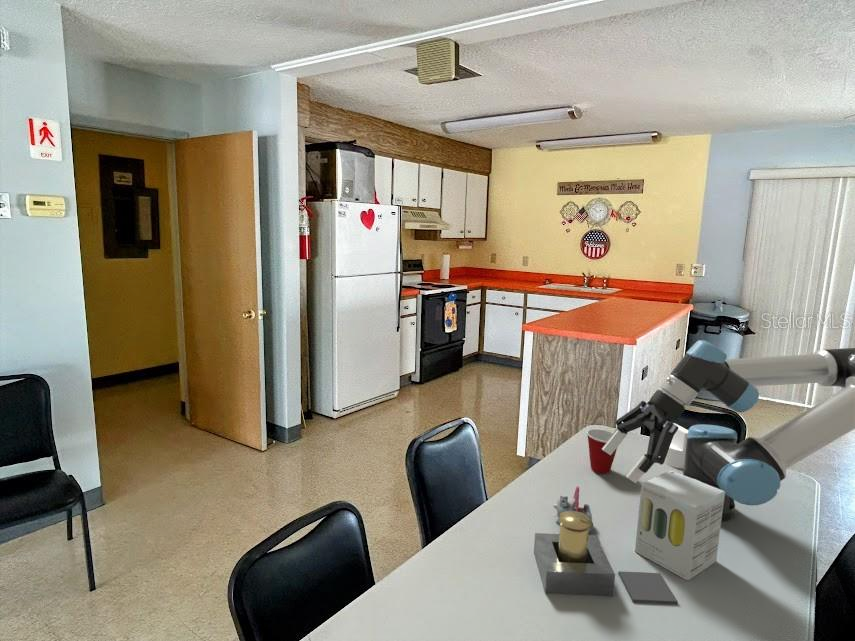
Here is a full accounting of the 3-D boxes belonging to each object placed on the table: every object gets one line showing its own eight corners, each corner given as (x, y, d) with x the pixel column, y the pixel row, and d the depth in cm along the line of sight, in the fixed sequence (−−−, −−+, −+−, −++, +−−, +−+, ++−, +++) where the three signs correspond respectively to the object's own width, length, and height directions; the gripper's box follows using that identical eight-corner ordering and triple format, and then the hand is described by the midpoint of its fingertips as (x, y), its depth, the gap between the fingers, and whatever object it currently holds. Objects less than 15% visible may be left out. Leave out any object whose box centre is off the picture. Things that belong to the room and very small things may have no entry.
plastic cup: (624, 478, 162) (627, 441, 160) (588, 477, 162) (592, 440, 160) (612, 463, 173) (615, 428, 171) (579, 462, 173) (582, 427, 171)
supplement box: (632, 551, 124) (639, 482, 122) (663, 534, 132) (670, 468, 129) (687, 582, 114) (696, 507, 111) (717, 561, 121) (726, 490, 119)
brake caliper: (605, 533, 127) (577, 493, 127) (566, 553, 130) (538, 514, 130) (600, 510, 138) (574, 472, 138) (564, 529, 141) (538, 492, 141)
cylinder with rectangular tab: (655, 457, 178) (658, 424, 176) (678, 455, 180) (681, 422, 178) (673, 469, 169) (677, 434, 167) (697, 467, 171) (701, 432, 169)
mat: (659, 575, 116) (659, 573, 116) (677, 604, 107) (677, 601, 107) (618, 573, 116) (618, 571, 116) (632, 602, 107) (633, 599, 107)
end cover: (582, 564, 119) (586, 511, 117) (590, 583, 112) (594, 527, 110) (552, 563, 119) (556, 510, 117) (559, 582, 113) (563, 526, 110)
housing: (594, 555, 122) (595, 535, 122) (613, 596, 109) (615, 574, 108) (533, 552, 123) (535, 532, 122) (544, 593, 109) (546, 571, 108)
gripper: (636, 372, 138) (586, 435, 141) (691, 410, 114) (630, 485, 117) (656, 387, 140) (607, 448, 143) (715, 427, 116) (655, 500, 119)
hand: (617, 465), depth 130 cm, fingers open, 13 cm apart
